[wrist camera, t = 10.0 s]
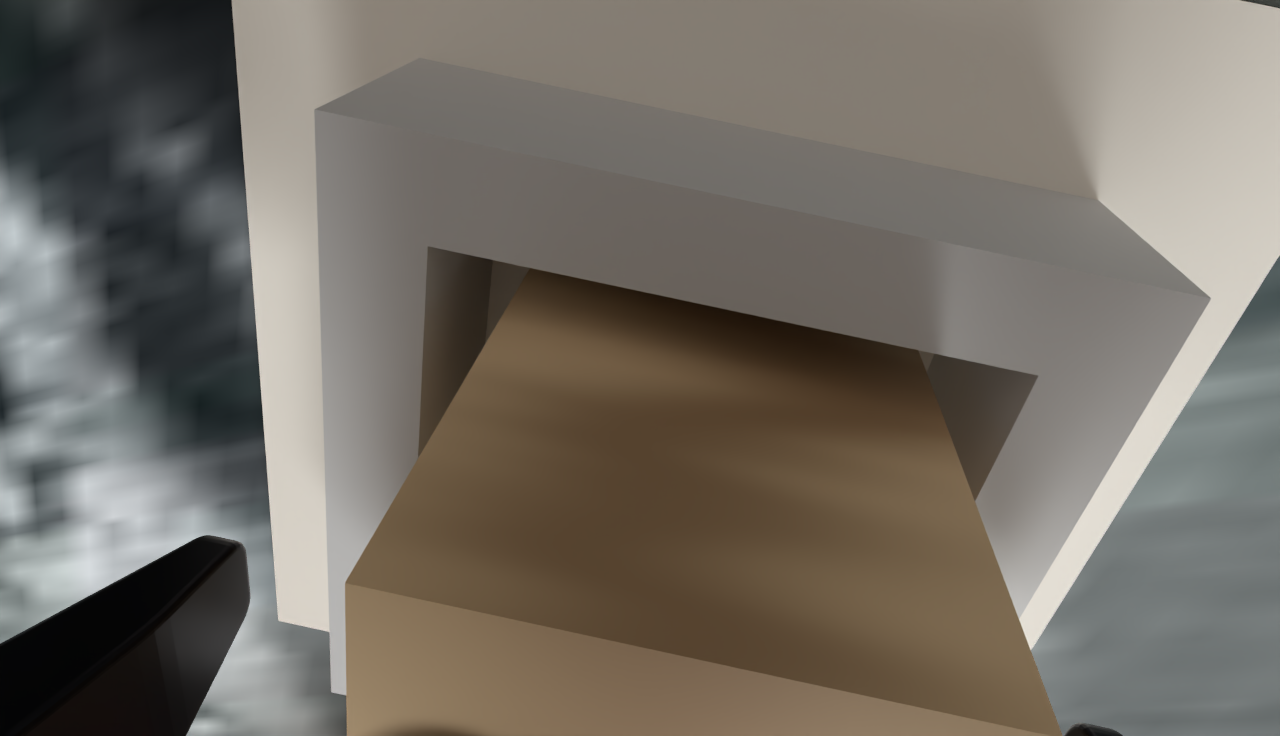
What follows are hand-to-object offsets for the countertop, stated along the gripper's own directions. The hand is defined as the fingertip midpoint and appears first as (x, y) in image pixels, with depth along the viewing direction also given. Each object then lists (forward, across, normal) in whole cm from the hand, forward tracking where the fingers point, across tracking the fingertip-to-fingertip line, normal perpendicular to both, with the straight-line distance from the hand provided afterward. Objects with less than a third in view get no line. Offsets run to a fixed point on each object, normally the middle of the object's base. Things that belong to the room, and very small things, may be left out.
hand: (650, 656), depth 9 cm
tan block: (+5, 0, 0) cm, 5 cm away
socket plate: (+6, 0, 0) cm, 6 cm away
